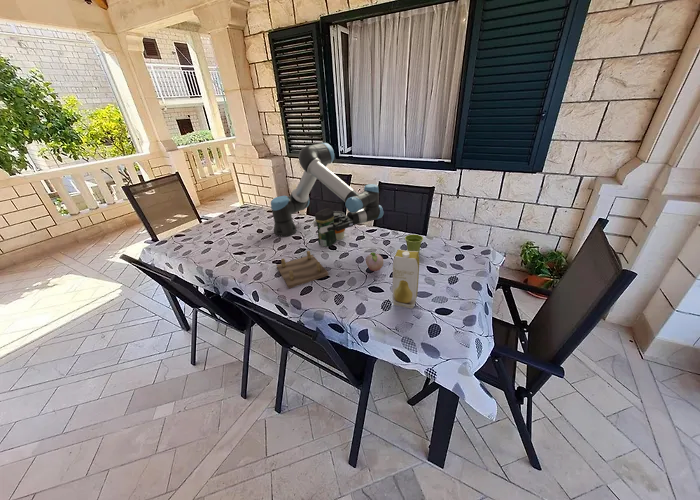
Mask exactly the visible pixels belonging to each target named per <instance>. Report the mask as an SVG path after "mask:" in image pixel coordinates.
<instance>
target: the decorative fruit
mask: <svg viewBox="0 0 700 500" xmlns="http://www.w3.org/2000/svg"><path fill="white" fill-rule="evenodd" d="M384 263H385V261H384V258H383V256H381V254H378V253H377V252H372V251H371V252H370V253H369V254H368V255H367V256H366V258H365V264H366V266H367V267H368V269H369V271H372V272H378V271H380V270H381V269H382V268H383V266H384Z"/></svg>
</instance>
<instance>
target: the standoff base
mask: <svg viewBox="0 0 700 500" xmlns="http://www.w3.org/2000/svg"><path fill="white" fill-rule="evenodd" d="M280 262H281V263H279V264H276V269H277V270H278V272H279V274H280V276H281V277H282V280H283V281H284V283H285V284H286V286H287V288H288V289H294V288H295V287H298V286H301V285H304V284H307V283H310V282H314V281H316V280H320V279H321V278H325V277H327V276H329V275H330V273H329V271H328V270H327V269H326V268H325V267H324V266H323V265H322V263H321V262H320V261H319V260H318V259H317V258H316V257H315V256H314V255H313V254H311V251H310V250H308V251H306V256H303V257H299V258H296V259H293V260H290V261H286V259H285V258H281V259H280Z"/></svg>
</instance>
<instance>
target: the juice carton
mask: <svg viewBox="0 0 700 500" xmlns="http://www.w3.org/2000/svg"><path fill="white" fill-rule="evenodd" d="M419 254H420V252H419V253H418V251H407V250H405V249H397V251H396V253H395V254H394V256H393V257H394V258H393V262H392V302H393V306H395V307H401V308H405V309H414V307H415V304H416V301H417V297H418V293H419V276H420V255H419Z"/></svg>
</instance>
